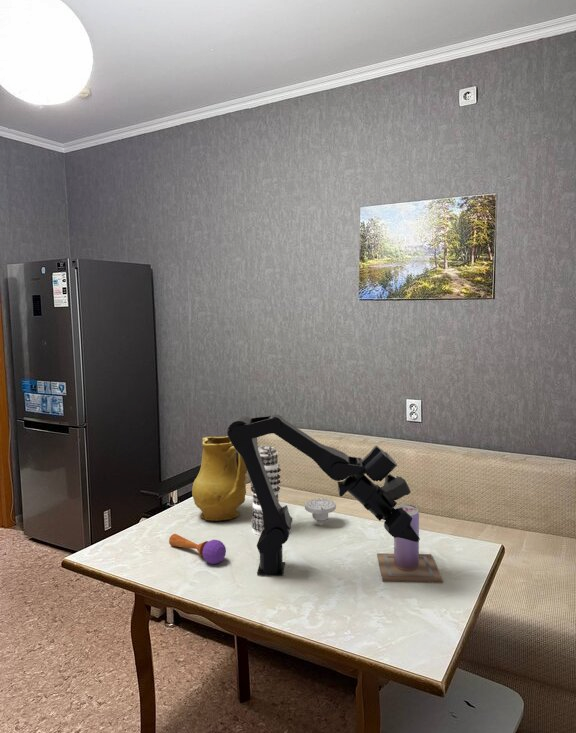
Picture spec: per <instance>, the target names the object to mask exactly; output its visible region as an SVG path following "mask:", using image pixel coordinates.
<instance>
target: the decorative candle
mask: <svg viewBox="0 0 576 733" xmlns="http://www.w3.org/2000/svg"><path fill="white" fill-rule="evenodd" d="M258 451H259V454H260V456H261V459H262V462H263V464H264V467H265V470H266V473H267V475H268V478H269V481H270V483H271V486H272V489H273V491H274V494H275V497H276V499H277V502H278V503H279V504H280V500H279V493H280V492H281V491H280V490H281V487H280V486H279V484H281V480H280V479H281V475H280V474H279V473H280V472H281V470H282V469H281V468H280V464H279V461H278V458H279V457H278V454H279V451H277V450H276V448H275V447H274V446H271V445H260V446H259V445H258ZM249 484H250V491H251V494H252V507H251V516H252V518H251V528H252V529H251V530H252V531H251V532H252V533H253V534H254V535H256V534H257V536H260V535H261V532H262V531H263V530H264V525H263V514H262V509H261V506H260V503H259V501H258V498H257V495H256V493H255V490H254V487H253V485H252V482H251V481H250V483H249Z"/></svg>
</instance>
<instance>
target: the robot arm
mask: <svg viewBox="0 0 576 733" xmlns="http://www.w3.org/2000/svg"><path fill="white" fill-rule="evenodd" d="M226 433H227V436H228V438H229V440H230V441H231V443H232V445H233V446H234V448H235V449H236V451H237V452H238V453H239V454H240V455H241V457H242V458H243V461H244V463H245V466H246V469H247V474H248V476H249V479H250V483H251V482H252V485H253V487H254V490H255V493H256V495H257V498H258V501H259V503H260V506H261V509H262V514H263V525H264V530H263V531H262V532H261V535H259V537H258V541H257V544H256V548H257V552H259V553H258V554H259V565H258V567H257V571H256V575H257V576H268V577H269V576H270V577H271V576H273V577H276V576H278V577H279V576H280V577H282V576H284V574H285V568H286V562H285V561H283V560H284V557H283V545H284V544H285V543H287V541H288V539H289V536H290V533H291V529H292V528H291V527H292V522H293V517H292V516H291V514H290V513H289V507H288V505H286V504H285V505H284V506H282V505H281V504H280V502H279V503H278V502H277V499H276V497H275V494H274V491H273V489H272V486H271V483H270V481H269V478H268V475H267V473H266V470H265V467H264V464H263V462H262V459H261V456H260V454H259V451H258V447H259V445H258V438H260V437H264V436H267V435H271V434H274V435H276V436H277V437H279V439H281V440H283V441H284V442H286V443H287V444H289V445H290V446H292V447H294V449H296V450H298V451H300V452H301V453H303V454H304V455H306V456H307V457H309V459H312V460H313V462H314V463H316V464H317V465H318V467H319V468H320V470H322V471H323V472H324V473H325V474H326V475H327V476H328V477H329V478H330V479H331V480H333V481H336V482H337V491H338V494H339V497H343V496H344V495H346V493H347V492H348V493H349V494H350V495H351V496H352V497H353V498H354V499H356V500H357V501H358V502H359V503H360V504H361V505H362V506H363V508H364V509H366V510H367V511H369V512H370V513H371V514H372V515H373V516H374V517H375V518H376V519H377V520H378V522H381V521H382V520H383V521H384V522H383V527H384V529H385V531H386V532H387V533H388V534H389V535H390V536H392V537H393V539H394V538H397V537H399V538H403V539H407V540H411V541H414V542H418V541H420V540H421V539H420V536H419V537H418V535H417V534H416V533H415V531H414V530H413V528H412V527H411V525H410V523H411V521H412V517H411V516H410V515H409V514H408V513H407V512H406V511H405V510H403V509H402V508H397V509H395V507H396V506H397V505H398V502H397V500H399V499H402V498H403V497H405V496H408V495H410V494H411V493H412V492H411V489H410V487H409V485H408V483H407V481H406V479H404V478H403V477H402V476H398V475H396V477H395V476H394V475H393V474H392V473H391V472H393V470H394V469H395V468H396V467H398V463H397V462H396V460H395V459H394V458H393V457H392V456H391V455H390V454H389V453H388V452H386V451H385V450H383V449H382V448H380V447H379V446H378V445H374V447H373V448H372V449H371V450H370V451H369V453H368V454H367V455H366V456H365V457H364V458H362V457H356V456H349V455H347V454H346V452H344V451H341V450H339V449H336V448H334V447H331V446H328V445H325V444H323V443H320V442H318V440H316V439H315V438H313V437H312V436H310V435H308V434H307V433H305V432H304V431H302V430H301V429H299V428H298V427H296V426H295V425H293V424H292V423H290V422H289V421H287V420H286V419H285V418H283V417H282V416H281V415H280V414H277V413H275V414H272V415H268V416H266V415H265V416H255V417H252V418H250V417H248V416H242V415H241V416H239V417H238V418H237V417H236V419H235V420H234V421H232V423H231V424H229V426H228V428H227V432H226ZM238 453H237V454H238ZM384 479H385V480H384ZM382 480H384V483H383V485H381V487H380V485H379V484H376V483H374V482H382Z"/></svg>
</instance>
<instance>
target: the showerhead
mask: <svg viewBox="0 0 576 733" xmlns="http://www.w3.org/2000/svg"><path fill="white" fill-rule="evenodd" d="M336 508H337V503H336V502H335V501H334V500H331V499H328V498H320V497H318V498H314V499H313V498H312V499H309V500H307V501H306V502H305V503H304V510H305V511H306V512H308V513H312V519H313V520H315V521H316V525H318V526H323V525H325V521H326V520H328V519H329V513H330V514H331V513H333V512H334V511H336Z"/></svg>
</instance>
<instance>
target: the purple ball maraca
mask: <svg viewBox="0 0 576 733" xmlns="http://www.w3.org/2000/svg"><path fill="white" fill-rule="evenodd" d="M168 543H169V546H171V547H178V548H187V549H195V550H197V552H198V554H199V556H201V557H202V558H203V559H204V560H205V562H207V563H208V564H210V565H217V564H220V563H221V562H222V561H224V559H225V556H226V553H227V547H226V545H225V544H224V542H222V541H221V540H219V539H212V540H208V541H207V540H205V541H203V542H201V543H199V544H198V543H195V542H194V541H192V540H189V539H187V538H185V537H183V536H181V535H179V534H177V533H173V534H171V535H170V537H169V540H168Z"/></svg>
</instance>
